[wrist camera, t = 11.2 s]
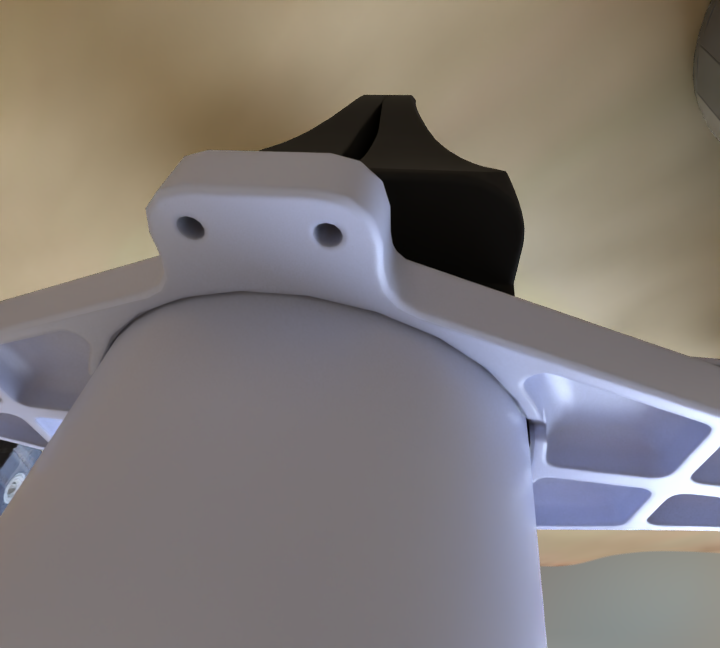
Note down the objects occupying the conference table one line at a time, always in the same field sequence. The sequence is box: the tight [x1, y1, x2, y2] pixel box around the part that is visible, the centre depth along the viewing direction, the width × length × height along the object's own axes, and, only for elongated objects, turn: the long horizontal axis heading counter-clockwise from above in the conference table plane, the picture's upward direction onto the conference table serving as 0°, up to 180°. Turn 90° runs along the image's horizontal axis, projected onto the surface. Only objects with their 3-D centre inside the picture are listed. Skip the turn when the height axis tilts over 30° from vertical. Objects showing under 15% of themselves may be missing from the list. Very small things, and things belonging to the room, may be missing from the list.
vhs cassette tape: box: [0, 439, 42, 516], centre depth 56 cm, size 18×3×10 cm, turn 169°
